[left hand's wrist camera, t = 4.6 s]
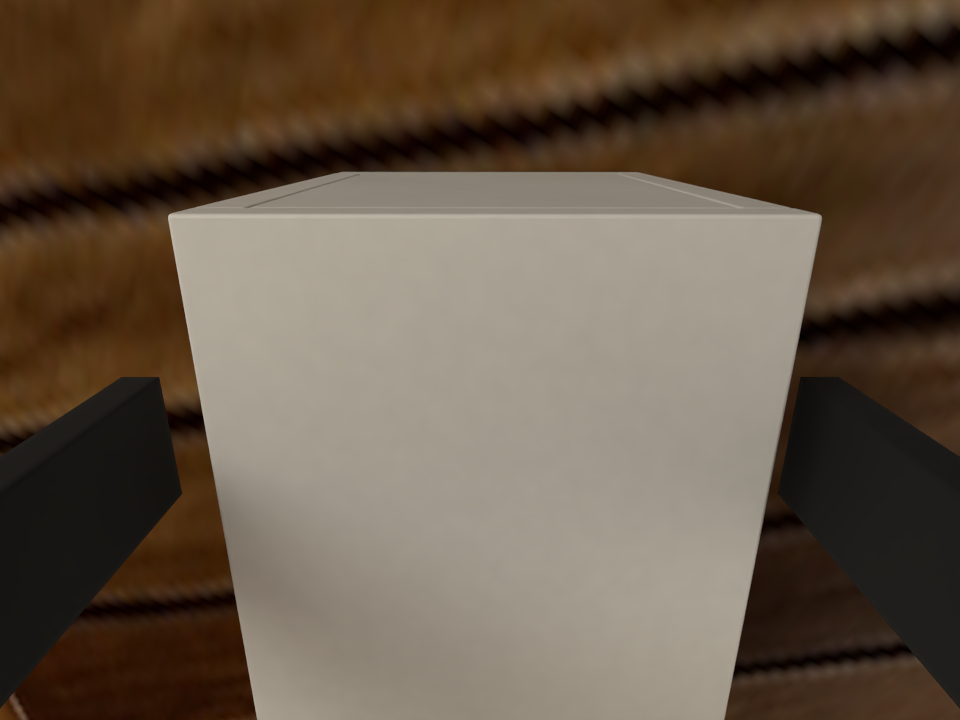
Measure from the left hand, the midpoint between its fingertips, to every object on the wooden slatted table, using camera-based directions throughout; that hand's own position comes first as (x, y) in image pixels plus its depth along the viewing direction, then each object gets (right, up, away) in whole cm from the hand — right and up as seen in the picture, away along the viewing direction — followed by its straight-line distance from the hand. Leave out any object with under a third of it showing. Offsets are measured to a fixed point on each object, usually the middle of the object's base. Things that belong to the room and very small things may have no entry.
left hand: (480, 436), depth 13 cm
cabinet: (0, -2, +11) cm, 11 cm away
